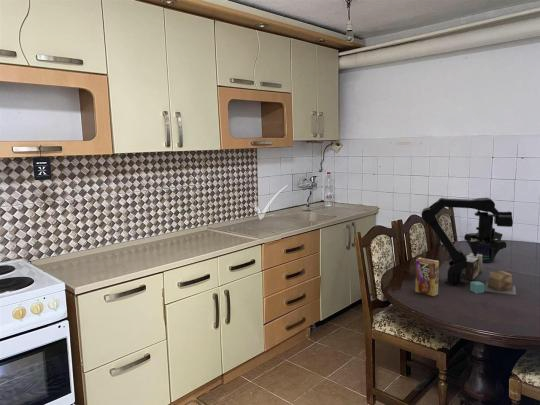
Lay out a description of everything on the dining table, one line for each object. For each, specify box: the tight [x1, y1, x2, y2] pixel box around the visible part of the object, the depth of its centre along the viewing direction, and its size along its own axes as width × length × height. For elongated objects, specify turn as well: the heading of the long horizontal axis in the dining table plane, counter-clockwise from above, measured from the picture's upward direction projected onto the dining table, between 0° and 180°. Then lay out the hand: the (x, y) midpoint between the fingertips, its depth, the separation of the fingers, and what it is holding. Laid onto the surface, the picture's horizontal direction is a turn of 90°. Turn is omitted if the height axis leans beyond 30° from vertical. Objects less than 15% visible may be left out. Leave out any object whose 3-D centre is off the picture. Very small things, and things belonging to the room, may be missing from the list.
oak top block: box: [489, 270, 513, 283], centre depth 183 cm, size 6×6×4 cm
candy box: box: [414, 257, 440, 297], centre depth 181 cm, size 9×4×15 cm, turn 45°
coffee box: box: [462, 252, 483, 281], centre depth 203 cm, size 9×6×16 cm
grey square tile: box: [484, 281, 517, 296], centre depth 184 cm, size 12×12×1 cm
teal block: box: [469, 280, 486, 294], centre depth 181 cm, size 4×4×4 cm
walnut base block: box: [487, 278, 514, 291], centre depth 183 cm, size 7×7×4 cm
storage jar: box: [475, 232, 494, 264], centre depth 225 cm, size 10×10×15 cm
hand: (483, 258), depth 187 cm, fingers open, 9 cm apart
